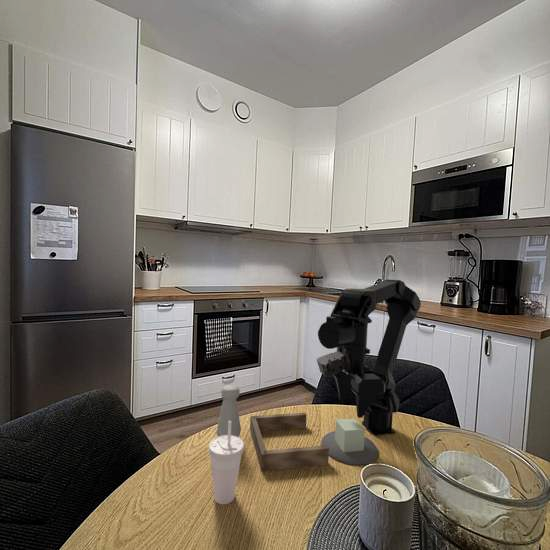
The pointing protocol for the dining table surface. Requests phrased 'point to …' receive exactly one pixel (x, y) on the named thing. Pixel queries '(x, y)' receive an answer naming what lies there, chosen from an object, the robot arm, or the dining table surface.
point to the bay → (284, 456)
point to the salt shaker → (229, 412)
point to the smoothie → (225, 465)
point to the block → (349, 435)
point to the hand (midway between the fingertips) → (350, 408)
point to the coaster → (350, 457)
